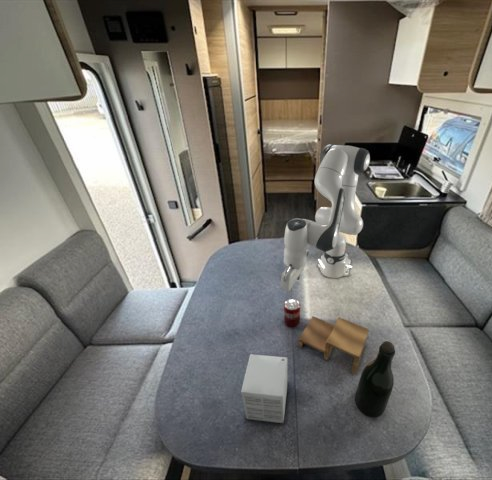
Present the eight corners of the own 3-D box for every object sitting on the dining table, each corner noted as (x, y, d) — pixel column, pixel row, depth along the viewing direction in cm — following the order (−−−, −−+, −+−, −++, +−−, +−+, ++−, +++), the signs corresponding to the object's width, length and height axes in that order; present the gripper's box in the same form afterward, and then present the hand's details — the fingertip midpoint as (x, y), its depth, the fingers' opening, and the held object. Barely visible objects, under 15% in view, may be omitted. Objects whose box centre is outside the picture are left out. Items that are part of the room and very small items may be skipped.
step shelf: (312, 323, 122) (313, 306, 116) (364, 345, 112) (369, 329, 106) (298, 346, 112) (299, 329, 106) (355, 373, 102) (359, 356, 96)
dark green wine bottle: (357, 383, 99) (372, 326, 81) (386, 394, 95) (408, 337, 77) (351, 411, 91) (367, 354, 73) (383, 424, 87) (407, 368, 69)
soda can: (298, 329, 119) (298, 311, 113) (282, 327, 121) (282, 308, 114) (300, 317, 125) (301, 299, 119) (286, 314, 127) (285, 297, 120)
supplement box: (253, 380, 100) (249, 353, 90) (288, 384, 99) (287, 356, 89) (245, 419, 89) (240, 392, 79) (283, 423, 88) (283, 397, 78)
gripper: (292, 275, 94) (291, 303, 101) (310, 247, 110) (308, 273, 118) (276, 271, 96) (276, 298, 103) (296, 244, 112) (295, 270, 120)
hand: (293, 285), depth 111 cm, fingers open, 8 cm apart
